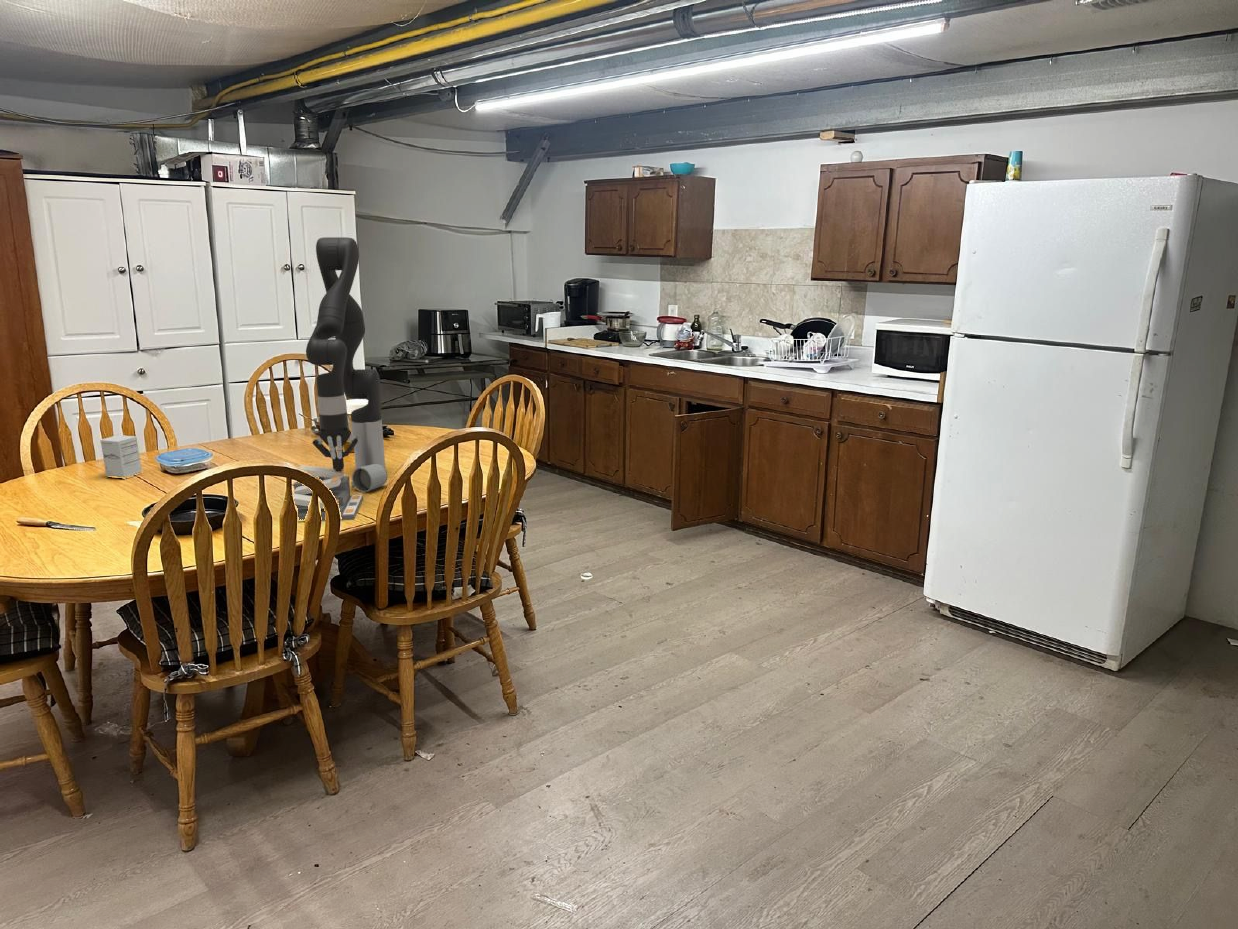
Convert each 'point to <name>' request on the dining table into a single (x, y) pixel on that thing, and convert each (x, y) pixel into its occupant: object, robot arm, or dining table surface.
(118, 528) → the dining table surface
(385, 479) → the ceramic mug
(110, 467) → the supplement box
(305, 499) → the block
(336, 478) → the middle rocker
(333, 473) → the rear rocker
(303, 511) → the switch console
